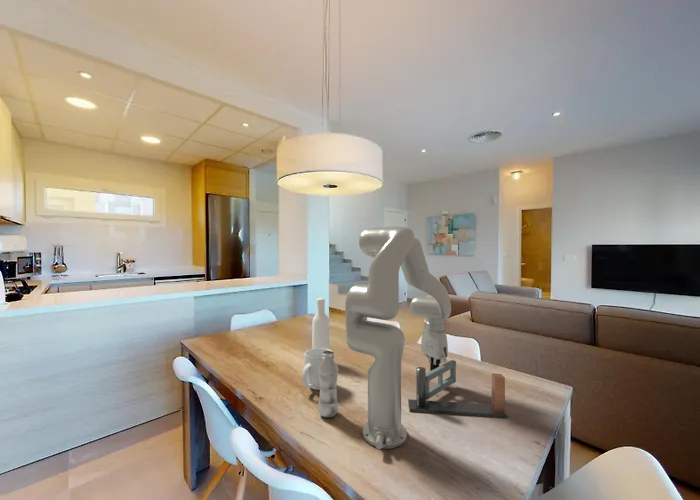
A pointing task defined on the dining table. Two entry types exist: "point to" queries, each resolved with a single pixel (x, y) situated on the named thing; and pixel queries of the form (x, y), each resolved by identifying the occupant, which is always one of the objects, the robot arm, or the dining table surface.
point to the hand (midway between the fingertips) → (434, 373)
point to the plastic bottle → (328, 385)
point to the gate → (440, 378)
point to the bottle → (320, 327)
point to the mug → (312, 367)
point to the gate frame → (458, 407)
